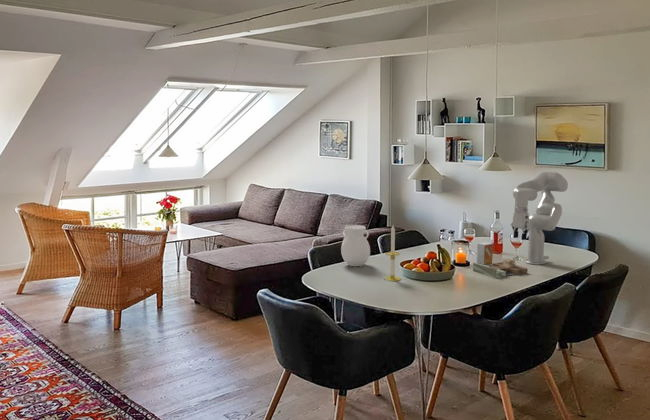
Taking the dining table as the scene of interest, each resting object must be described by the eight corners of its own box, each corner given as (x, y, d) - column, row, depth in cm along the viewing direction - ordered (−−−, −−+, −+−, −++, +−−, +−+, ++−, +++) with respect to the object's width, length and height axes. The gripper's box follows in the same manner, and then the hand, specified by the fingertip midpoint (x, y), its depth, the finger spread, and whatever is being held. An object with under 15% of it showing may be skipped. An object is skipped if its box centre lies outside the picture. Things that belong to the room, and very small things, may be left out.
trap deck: (504, 266, 405) (504, 258, 405) (527, 273, 388) (527, 265, 387) (472, 270, 394) (473, 262, 394) (494, 278, 377) (495, 269, 376)
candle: (396, 282, 369) (397, 226, 364) (380, 279, 374) (381, 224, 369) (403, 278, 377) (404, 223, 372) (388, 276, 382) (389, 222, 378)
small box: (483, 264, 410) (484, 244, 408) (476, 263, 415) (477, 243, 413) (492, 263, 414) (493, 243, 412) (485, 261, 420) (485, 241, 418)
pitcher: (336, 267, 405) (336, 228, 402) (346, 261, 422) (346, 223, 419) (364, 269, 398) (364, 230, 395) (373, 263, 415) (374, 225, 412)
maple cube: (509, 264, 397) (509, 258, 396) (514, 266, 392) (515, 260, 392) (502, 265, 395) (503, 259, 394) (508, 267, 390) (508, 261, 390)
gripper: (536, 211, 386) (534, 240, 389) (515, 207, 401) (514, 235, 404) (526, 212, 383) (525, 241, 385) (506, 208, 398) (505, 236, 401)
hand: (519, 238), depth 395 cm, fingers open, 6 cm apart
